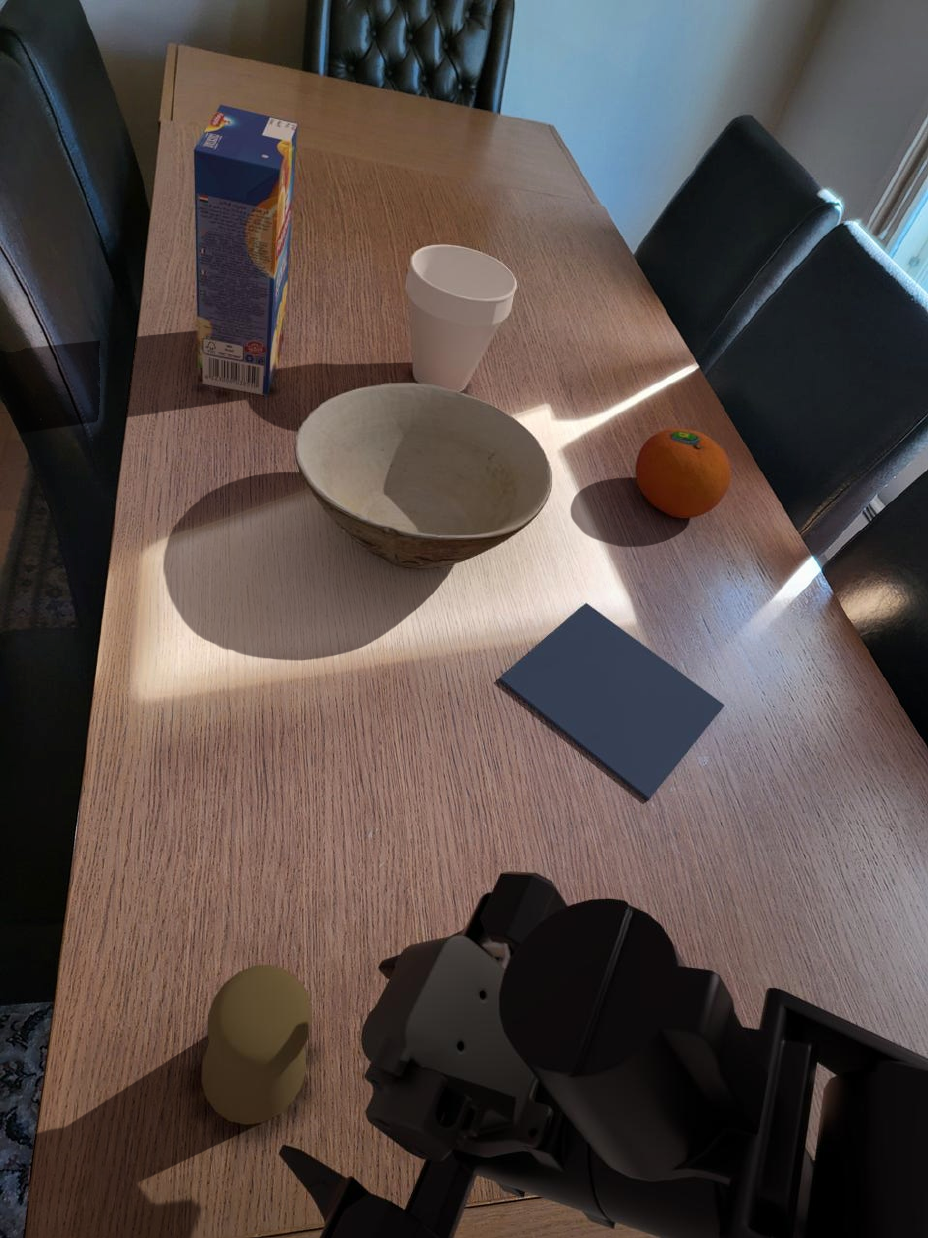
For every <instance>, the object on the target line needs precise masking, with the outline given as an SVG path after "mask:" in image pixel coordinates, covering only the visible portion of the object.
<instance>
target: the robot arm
mask: <svg viewBox="0 0 928 1238" xmlns="http://www.w3.org/2000/svg"><path fill="white" fill-rule="evenodd" d="M378 970H379V971H380V973H381V974H382V976H384V978H385V979H388V981H387V983H386V985H385V987H384V989H383V991H382V993H381V995H380V996H379V998H378V1000H377V1001H376V1004H375V1006H374V1007H373V1008H372V1010H370V1011H369V1014H368V1015H367V1017H366V1019H365V1021H364V1023H363V1026H362V1029H361V1034H360V1043H361V1049H362V1052H363V1053H364V1056H365V1057H366V1058H367V1060H368V1061H369V1062H370V1063H369V1065H368V1068H367V1069H366V1071H365V1073H364V1075H363V1077H364V1080H366V1082H368V1083H369V1084H370V1085H371V1086H372V1096H371V1098H370V1101H369V1102H368V1105H367V1106H366V1109H365V1111H364V1113H365V1117H366V1120H367V1121H368V1123H370V1124H371V1125H372V1126H374V1127H375V1128H376V1129H377V1130H378V1131H379V1132H381V1133H382V1134H384V1136H386V1137H388V1138H389V1139H390V1140H391V1141H393V1142H394V1143H395V1144H397V1145H398V1146H399V1147H401V1148H402V1149H403V1150H404V1151H406V1152H407V1153H409V1154H411V1155H412V1156H414V1157H416V1158H418V1159H420V1160H424V1162H423V1165H422V1167H421V1169H420V1172H419V1175H418V1177H417V1179H416V1181H415V1184H414V1186H413V1189H412V1191H411V1194H410V1196H409V1198H408V1200H407V1204H406V1205H405V1207H404V1208H402V1207H401V1206H399V1205H398V1204H396V1203H394V1202H393V1201H391V1200H389V1199H387V1198H384V1197H382V1196H379V1195H376V1194H374V1193H371V1192H370V1191H369V1190H368V1189H367V1188H366V1187H365V1186H364V1185H363V1184H361V1183H360V1182H359V1181H358V1180H357V1179H356V1178H355V1177H354V1176H352V1175H349V1176H347V1177H346V1176H344V1175H343V1174H341V1173H339V1172H338V1171H337V1170H335V1169H333V1168H332V1167H330V1166H328V1165H326V1164H325V1163H324V1162H322V1161H320V1160H319V1159H317V1158H316V1157H314V1156H312V1155H311V1154H309V1153H307V1152H306V1151H304V1150H302V1149H300V1148H298V1147H295V1146H290V1145H287V1144H282V1145H281V1148H280V1149H279V1151H278V1155H279V1157H280V1158H281V1160H283V1162H284V1163H285V1164H286V1166H287V1167H288V1168H289V1169H290V1171H291V1172H292V1173H293V1175H294V1176H295V1177H296V1178H297V1180H298V1181H299V1182H300V1183H301V1185H302V1186H303V1187H304V1188H305V1190H306V1191H307V1192H308V1194H309V1195H310V1196H311V1198H312V1199H313V1201H314V1202H315V1204H316V1206H317V1209H318V1210H319V1213H320V1215H321V1217H322V1219H323V1221H324V1224H323V1229H322V1231H321V1234H320V1236H319V1238H455V1236H456V1233H457V1230H458V1228H459V1225H460V1223H461V1219H462V1217H463V1214H464V1212H465V1209H466V1206H467V1204H468V1201H469V1198H470V1196H471V1194H472V1190H473V1187H474V1185H475V1182H476V1180H477V1177H481V1178H484V1179H486V1180H490V1181H492V1182H494V1183H495V1184H496V1185H497V1186H498V1187H499V1188H500V1189H501V1190H502V1191H503V1192H505V1193H508V1194H510V1195H514V1196H516V1197H519V1198H523V1199H524V1198H525V1196H526V1193H527V1194H531V1195H533V1196H536V1197H540V1198H543V1199H545V1200H548V1201H551V1202H554V1203H556V1204H560V1205H563V1206H566V1207H569V1208H572V1209H575V1210H577V1211H580V1212H582V1214H584V1216H585V1217H586V1218H587V1219H588V1220H589V1222H591V1223H593V1224H596V1225H600V1226H602V1227H606V1228H608V1229H611V1230H614V1229H615V1226H616V1224H619V1225H622V1226H625V1227H628V1228H630V1229H634V1230H637V1231H639V1232H643V1233H645V1234H648V1235H651V1236H654V1237H657V1238H928V1057H926V1056H924V1055H921V1054H919V1053H918V1052H915V1051H914V1050H911V1049H908V1047H907V1048H906V1047H905V1046H902V1045H900V1044H898V1043H896V1042H894V1041H892V1040H890V1039H887V1038H885V1037H884V1036H881V1035H879V1034H877V1033H875V1032H873V1031H870V1030H868V1029H867V1028H864V1027H862V1026H860V1025H858V1024H855V1023H853V1022H851V1021H850V1020H847V1019H845V1018H844V1017H841V1016H838V1015H836V1014H834V1013H832V1012H830V1011H828V1010H826V1009H824V1008H821V1007H819V1006H817V1005H815V1004H813V1003H811V1002H809V1001H807V1000H805V999H804V998H800V997H798V996H797V995H794V994H793V993H790V992H789V991H785V990H783V989H781V988H778V987H777V988H776V987H768V988H767V989H766V990H765V995H764V1000H763V1005H762V1010H761V1016H760V1021H759V1026H758V1028H752V1027H746V1026H743V1025H742V1023H741V1021H740V1020H739V1017H738V1016H737V1014H736V1013H737V1012H736V1010H735V1005H734V999H733V997H732V994H731V993H730V991H729V989H728V987H727V985H726V984H725V982H724V979H723V978H722V976H721V975H720V974H719V973H717V972H715V971H713V970H712V969H705V968H697V967H690V966H687V964H686V963H685V962H684V959H683V958H682V956H681V954H680V952H679V951H678V950H677V948H676V946H675V944H674V942H673V941H672V939H671V938H670V936H669V935H668V933H667V932H666V930H665V928H664V927H663V925H662V924H661V923H660V922H659V921H657V919H655V918H654V917H653V916H651V914H649V913H648V912H646V911H644V910H642V909H639V908H637V907H635V906H633V905H631V904H629V902H628V901H626V900H625V899H618V898H612V897H611V898H609V897H608V898H607V897H606V898H590V899H586V900H583V901H579V902H575V903H572V904H569V905H568V903H567V902H566V900H565V899H564V898H563V895H562V894H561V892H560V891H559V889H558V888H557V887H556V885H555V883H554V882H553V881H552V880H551V879H549V878H547V877H546V876H543V875H541V874H539V873H538V872H529V871H513V870H510V871H505V872H500V873H499V875H498V878H497V879H496V882H495V884H494V886H493V888H492V891H491V892H490V891H489V892H488V891H487V892H486V893H483V895H482V896H481V897H480V898H479V899H478V902H477V904H476V906H475V908H474V910H473V912H472V914H471V916H470V917H469V919H468V921H467V923H466V925H465V926H464V928H462V929H461V930H460V931H458V932H456V933H453V934H451V935H449V936H445V937H440V938H436V939H430V940H426V941H421V942H417V943H412V944H409V945H408V946H406V947H405V948H404V949H403V950H402V951H401V953H400V954H397V955H394V956H392V957H391V956H390V957H388V958H385V959H382V960H381V962H380V963H379V965H378ZM818 1064H819V1065H821V1066H822V1067H823V1068H824V1069H826V1070H827V1071H829V1072H831V1073H832V1074H834V1076H832V1077H830V1078H829V1079H828V1081H827V1083H826V1085H824V1088H823V1093H822V1101H821V1107H820V1108H821V1109H820V1116H819V1122H818V1130H817V1139H816V1145H815V1153H814V1159H813V1157H812V1155H811V1154H810V1151H809V1150H808V1148H807V1146H806V1145H807V1138H808V1131H809V1125H810V1117H811V1110H812V1104H813V1097H814V1088H815V1080H816V1075H817V1067H818Z"/></svg>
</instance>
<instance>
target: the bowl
mask: <svg viewBox="0 0 928 1238" xmlns="http://www.w3.org/2000/svg"><path fill="white" fill-rule="evenodd" d="M293 448H294V449H293V451H294V458H295V462H296V466H297V468H298V471H299V474H300V476H301V478H302V479H303V482H304V483H305V485H306V487H307V488H308V490H309V491H310V493H311V494H312V496H313V497H314V498H315V499H316V500H317V502H318V503H319V504H320V505H321V507H322V508H323V509H324V510H325V512H326V513H327V514H328V515H329V516H330V518H332V519H333V520H334V522H335V523H336V524H337V525H338V526H339V528H341V529H342V530H343V531H344V532H345V533H346V534H347V535H348V536H349V537H351V538H352V539H353V540H354V541H356V542H357V543H358V544H360V545H361V546H362V547H363V548H365V549H366V550H368V551H369V552H371V553H372V554H374V555H376V556H377V557H379V558H381V559H382V560H385V561H387V562H389V563H391V564H393V565H396V566H400V567H405V568H409V569H434V568H440V567H442V568H443V567H445V566H451V565H455V564H459V563H462V562H465V561H467V560H470V559H472V558H473V559H474V558H475V557H477V556H479V555H481V554H483V553H486V552H488V551H490V550H492V549H494V548H496V547H498V546H499V545H501V544H503V543H504V542H506V541H508V540H509V539H511V538H512V537H513V536H515V535H517V534H518V533H519V532H521V531H522V530H524V529H525V528H526V527H528V525H529V524H531V523H532V521H534V519H535V518H536V517H538V515H539V514H540V513H541V511H543V509H544V507H545V506H546V504H547V502H548V501H549V499H550V495H551V492H552V488H553V471H552V466H551V465H550V461H549V459H548V457H547V454H546V452H545V449H544V448H543V446H542V445H541V443H540V442H539V440H538V439H537V438H536V436H535V435H533V434H532V432H531V431H530V430H528V428H526V427H525V426H524V425H523V424H522V423H520V421H518V420H517V419H516V418H514V416H512V415H511V414H509V413H507V412H506V411H505V410H503V409H502V408H499V407H497V406H495V405H493V404H491V403H489V402H487V401H484V400H483V399H480V398H479V397H478V398H477V397H475V396H472V395H469V394H466V393H463V392H462V391H461V392H458V391H455V390H451V389H447V388H444V387H440V386H435V385H431V384H424V383H418V382H397V383H389V382H386V383H380V384H376V385H368V386H365V387H359V388H355V389H351V390H350V391H346V392H345V391H344V392H342V393H340V394H338V395H336V396H333V397H331V398H329V399H327V400H325V401H323V402H322V403H321V404H319V406H318V407H317V408H316V409H314V410H312V411H311V412H310V414H308V415H307V417H306V418H305V420H304V421H303V422H302V424H301V425H300V427H299V428H298V430H297V432H296V437H295V440H294V447H293Z"/></svg>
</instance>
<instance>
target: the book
mask: <svg viewBox="0 0 928 1238" xmlns="http://www.w3.org/2000/svg"><path fill="white" fill-rule="evenodd" d="M498 681H499V682H500V683H501V684H502V685H504V686H505V687H506V688H507V689H509V690H510V691H511V692H512V693H513V694H515V695H516V696H518V698H519V699H521V700H522V701H523V702H524V703H526V704H527V705H528V706H529V707H531V708H532V709H533V710H535V711H536V712H537V713H538V714H539V715H541V716H542V717H543V718H544V719H546V720H547V721H548V722H549V723H551V724H552V725H553V726H554V727H556V729H558V730H559V731H560V732H562V733H563V735H565V736H567V738H569V739H570V740H572V741H573V742H574V743H575V744H577V745H578V746H579V747H580V748H582V749H583V750H584V751H585V752H587V754H589V755H590V756H591V757H593V758H594V759H595V760H596V761H597V762H599V763H600V764H601V765H603V767H605V768H606V769H608V770H609V771H610V772H611V773H612V774H614V775H615V776H616V777H617V778H619V779H620V780H621V781H622V782H624V783H625V784H626V785H627V786H629V787H630V788H631V789H632V790H634V791H635V792H636V793H637V794H638V795H640V796H641V797H642V798H643V799H645V800H646V801H647V802H648V801H650V799H651V798H652V797H653V795H655V793H656V792H657V791H658V789H659V788H660V787H661V786H662V784H663V783H664V782H665V781H666V779H668V777H669V776H670V775H671V773H672V772H673V771H674V770H675V768H676V767H678V765H679V763H680V762H681V761H682V760H683V758H684V757H685V756H686V755H687V753H688V752H689V751H690V750H691V748H692V747H693V746H694V745H695V744H696V742H697V741H698V740H699V738H700V737H701V736H702V734H703V733H704V732H705V731H706V729H707V728H708V727H709V725H711V723H712V722H713V721H714V719H715V718H716V717H717V716H718V715H719V713H720V712H721V711H722V709H723V708H724V707H725V704H724V703H723V702H721V701H720V700H719V699H717V698H716V697H715V696H714V695H712V694H711V693H709V692H708V691H707V690H705V689H704V688H702V687H701V686H699V684H697V683H695V682H694V681H693V680H692V679H690V678H689V677H688V676H686V675H685V674H683V673H682V672H680V671H679V670H678V669H677V668H675V667H674V666H672V665H671V664H670V663H669V662H667V661H666V660H665V659H664V658H662V657H661V656H659V655H658V654H656V652H654V651H653V650H651V649H649V648H648V647H647V646H645V645H644V644H643V643H641V642H640V641H639V640H637V639H636V638H635V637H633V636H632V635H631V634H630V633H628V632H627V631H625V630H624V629H623V628H621V627H620V626H618V625H617V624H616V623H614V622H613V621H612V620H610V618H608V617H606V616H605V615H604V614H602V613H601V612H600V611H598V610H596V609H595V608H594V607H593V606H591V605H590V604H589V603H587V602H585V603H584V604H583V605H582V606H581V607H579V608H578V609H577V610H576V611H575V612H574V613H572V614H571V615H570V616H569V617H568V618H567V619H566V620H564V621H563V622H562V623H561V624H560V625H559V626H558V627H557V628H555V629H554V630H553V631H552V632H550V634H549V635H547V636H546V637H545V638H543V640H541V641H540V642H539V643H538V644H537V645H536V646H535V647H533V648H532V649H531V650H530V651H529V652H528V653H527V654H526V655H524V656H523V657H522V658H521V659H520V660H519V661H518V662H516V663H515V664H514V665H513V666H511V667H510V668H509V669H508V670H507V671H506V672H505V673H503V674H502V675H501V676H500V677H499V679H498Z"/></svg>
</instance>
